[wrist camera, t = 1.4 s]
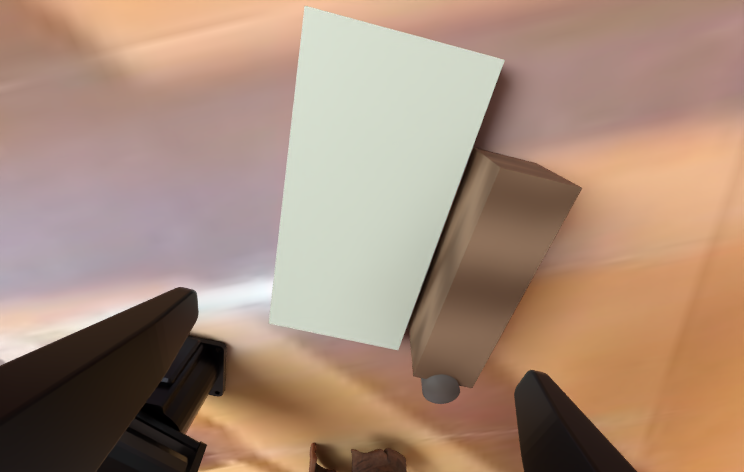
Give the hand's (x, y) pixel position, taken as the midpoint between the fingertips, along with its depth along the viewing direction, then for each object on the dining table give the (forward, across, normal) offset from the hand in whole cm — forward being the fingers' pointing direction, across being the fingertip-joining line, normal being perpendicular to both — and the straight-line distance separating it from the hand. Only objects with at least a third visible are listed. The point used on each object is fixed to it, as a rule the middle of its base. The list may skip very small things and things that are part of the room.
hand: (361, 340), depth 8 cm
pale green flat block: (+13, +1, +2) cm, 14 cm away
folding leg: (+13, -6, +5) cm, 16 cm away
